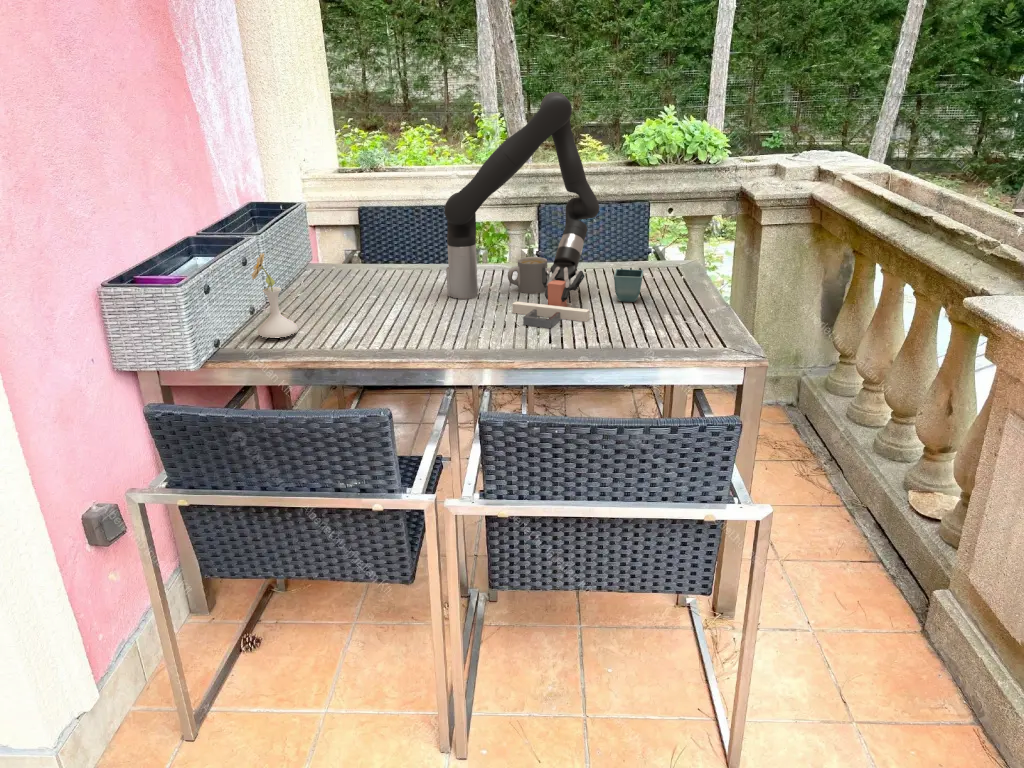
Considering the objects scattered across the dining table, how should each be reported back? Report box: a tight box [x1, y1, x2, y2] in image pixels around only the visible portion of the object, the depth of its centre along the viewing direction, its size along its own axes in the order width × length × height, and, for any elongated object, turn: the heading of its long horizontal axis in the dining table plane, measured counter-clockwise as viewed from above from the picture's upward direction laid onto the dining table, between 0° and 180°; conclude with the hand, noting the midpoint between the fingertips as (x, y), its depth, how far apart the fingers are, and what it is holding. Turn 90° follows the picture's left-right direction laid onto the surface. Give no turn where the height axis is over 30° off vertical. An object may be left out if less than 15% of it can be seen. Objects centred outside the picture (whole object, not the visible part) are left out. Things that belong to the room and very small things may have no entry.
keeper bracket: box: [522, 309, 561, 329], centre depth 228 cm, size 8×8×2 cm
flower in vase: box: [250, 252, 299, 338], centre depth 217 cm, size 13×11×25 cm
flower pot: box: [613, 268, 644, 303], centre depth 246 cm, size 9×9×9 cm
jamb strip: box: [511, 301, 590, 323], centre depth 237 cm, size 24×11×3 cm, turn 66°
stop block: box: [547, 280, 568, 307], centre depth 237 cm, size 4×4×9 cm
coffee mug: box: [507, 256, 548, 295], centre depth 260 cm, size 13×10×10 cm
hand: (555, 299), depth 236 cm, fingers closed on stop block, 4 cm apart
